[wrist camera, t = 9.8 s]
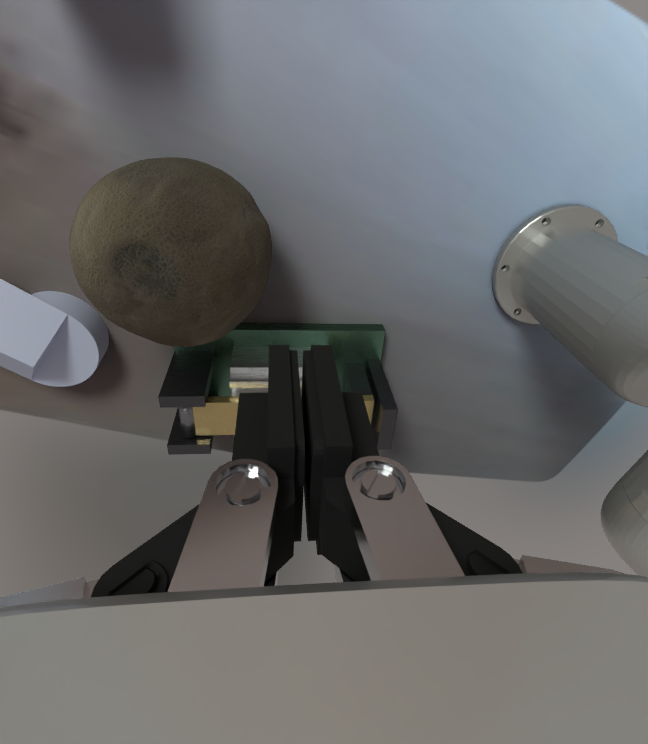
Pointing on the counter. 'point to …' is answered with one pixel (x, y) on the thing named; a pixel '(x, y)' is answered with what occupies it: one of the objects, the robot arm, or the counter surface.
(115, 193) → the cantaloupe
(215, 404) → the retention strap
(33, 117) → the counter surface
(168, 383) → the cooling block
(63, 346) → the wedge on round base
